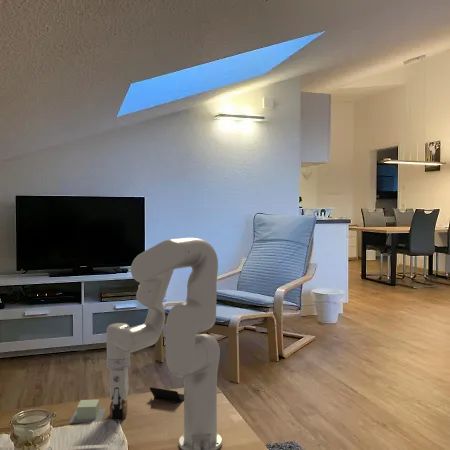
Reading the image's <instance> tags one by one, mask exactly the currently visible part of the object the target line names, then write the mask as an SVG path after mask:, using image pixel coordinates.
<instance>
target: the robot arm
mask: <svg viewBox="0 0 450 450" xmlns="http://www.w3.org/2000/svg"><path fill="white" fill-rule="evenodd" d="M218 260H219V259H218V256H217V252H216V250H215V248H214V247H213V246H212V244H211V243H209V242H208V241H206V240H205V239H202V238H197V237H183V238H170V239H166V240H162V241H161V242H158V243H157V244H155V245H154V246H152V247H150V248H148V249H146V250H144V251H142V252H141V253H139V254H137V255H136V257H134V259H133V261H132V263H131V265H130V273H131V276H132V278H133V279H134V280H135V281H136V282H138V283H139V285H138V289H137V291H136V295H135V297H136V301H137V302H139V303H140V304H141V305H142V306H144V307H146V308H148V310H147V315H146V318H145V319H144V320H145V321H144V323H141V324H138V325H134V326H131V327H130V325H129V324H128V323H124V322H116V323H115V322H114V323H111V324H109V325H108V326H107V328H106V369H108V370H109V371H110V373H109V395H110V396H109V397H110V399H109V400H111V401H112V400H113V409H112V419H119V420H122V421H123V420H124V419H123V408H122V400H127V396H128V394H129V369H128V368H130V367H131V353H134V352H137V351H139V350H140V351H141V350H143V349H145V348H148V347H151V346H153V345H155V344H157V342H158V341H159V338H160V337H161V334H162V332H163V329H164V327H165V361H166V362H165V363H166V365H167V368H168V371H169V372H170V373H171V374H172V375H173V376H174V377H177V378H179V379H181V378H184V384H183V394H184V401H183V434H182V435H181V436H180V437H179V438H178V446H179V448H180V449H181V450H218V449H220V448H221V447H222V446H223V437H222V436H221V435H220V434H219V433H217V432H218V427H217V426H218V412H217V411H218V403H217V402H218V400H217V399H218V396H217V392H218V372H219V371H218V370H219V363H220V359H221V358H220V357H221V349H220V344H219V342H218V340H217V339H216V338H215V337H213V336H212V335H210V334H207V333H204V332H206V331H208V330H209V329H211V328H213V326H214V325H215V324H216V319H217V294H218V292H217V291H218V290H217V287H218V286H217V285H218V284H217V283H218V273H219V272H218V270H219V261H218ZM182 268H191V272H190V274H189V277H188V278H187V279H188V280H187V285H186V288H187V291H186V294H187V295H186V299H185V301H181V302H179V303H177V304H174V306H172V307H171V309H170V310H169V312H168V314H167V317H166V312H165V311H166V310H165V307H164V304H163V302H164V299H165V296H166V293H167V291H168V288H169V284H170V282H171V279H172V276H173V273H174V271H175V270H178V269H182ZM165 323H166V324H165ZM118 401H120V403H118ZM112 419H111V420H112ZM119 420H118V421H119Z"/></svg>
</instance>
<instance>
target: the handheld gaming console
mask: <svg viewBox="0 0 450 450" xmlns="http://www.w3.org/2000/svg"><path fill="white" fill-rule="evenodd" d="M149 390H150V392H151V394H152V396H153V400H154V399H155V400H160V401H165V402H172V403H178V404H182V403H184V393H179V392H178V391H177V390H171V389H164V388H157V387H152V386H151V387H149Z"/></svg>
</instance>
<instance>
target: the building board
mask: <svg viewBox="0 0 450 450" xmlns="http://www.w3.org/2000/svg"><path fill="white" fill-rule="evenodd" d="M106 410H107V408H99V413H98V415H97V418H96V419H82V420H77V409H75V411H74V413H73V415H72V416H71V419H70V420H69V422H68V423H69V424H75V423H92V422H91V421H101V422H102V420H103V418H104V416H105V412H106Z"/></svg>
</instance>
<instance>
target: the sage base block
mask: <svg viewBox="0 0 450 450" xmlns="http://www.w3.org/2000/svg"><path fill="white" fill-rule="evenodd" d="M99 409H100V399H80V400H79V402H78V405H77V406H76V410H77V420H82V419H96V418H97V415H98V413H99Z"/></svg>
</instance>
